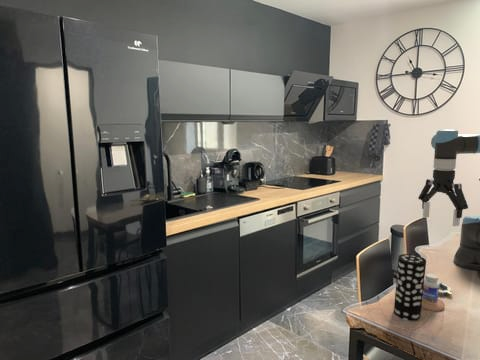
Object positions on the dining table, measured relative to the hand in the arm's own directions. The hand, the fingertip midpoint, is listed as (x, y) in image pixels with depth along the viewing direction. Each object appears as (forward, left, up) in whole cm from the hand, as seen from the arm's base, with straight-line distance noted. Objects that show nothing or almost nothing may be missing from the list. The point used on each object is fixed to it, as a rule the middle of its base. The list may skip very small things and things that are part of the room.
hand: (440, 221), depth 141 cm
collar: (+6, +7, -26) cm, 27 cm away
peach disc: (+18, +14, -26) cm, 34 cm away
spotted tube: (+31, +17, -26) cm, 44 cm away
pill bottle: (+18, +14, -25) cm, 34 cm away
